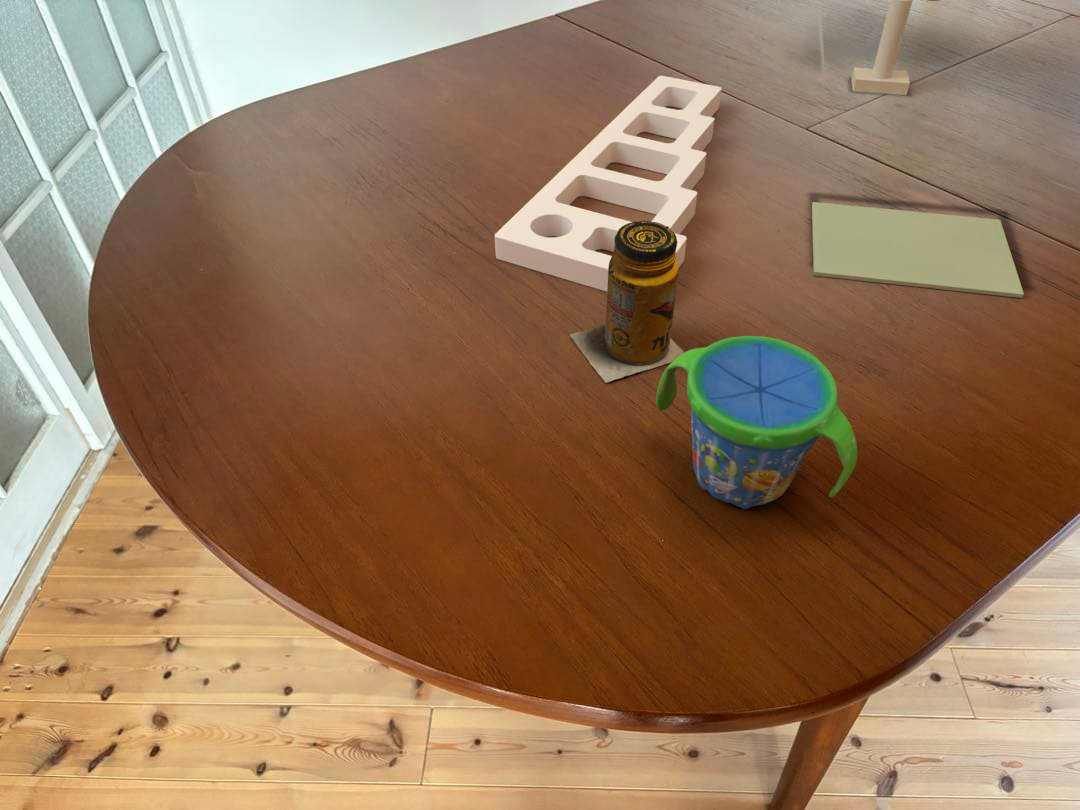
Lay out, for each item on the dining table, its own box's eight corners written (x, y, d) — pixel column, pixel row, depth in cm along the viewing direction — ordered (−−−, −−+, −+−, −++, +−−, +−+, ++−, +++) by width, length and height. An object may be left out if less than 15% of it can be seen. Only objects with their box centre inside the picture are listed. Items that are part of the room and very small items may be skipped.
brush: (901, 92, 119) (929, -7, 110) (904, 104, 116) (933, 4, 107) (849, 88, 120) (872, -10, 111) (850, 100, 117) (874, 0, 108)
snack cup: (863, 491, 67) (900, 396, 60) (788, 571, 61) (818, 477, 54) (702, 396, 75) (717, 302, 68) (622, 460, 69) (630, 365, 62)
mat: (998, 223, 94) (1000, 219, 94) (1022, 298, 84) (1024, 294, 84) (811, 205, 97) (812, 201, 97) (813, 275, 88) (814, 271, 87)
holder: (658, 94, 119) (659, 75, 117) (785, 120, 113) (789, 100, 111) (494, 258, 91) (493, 236, 89) (651, 305, 84) (654, 282, 83)
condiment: (687, 357, 79) (703, 246, 70) (605, 384, 76) (611, 272, 68) (647, 313, 83) (657, 204, 75) (569, 337, 81) (571, 227, 73)
